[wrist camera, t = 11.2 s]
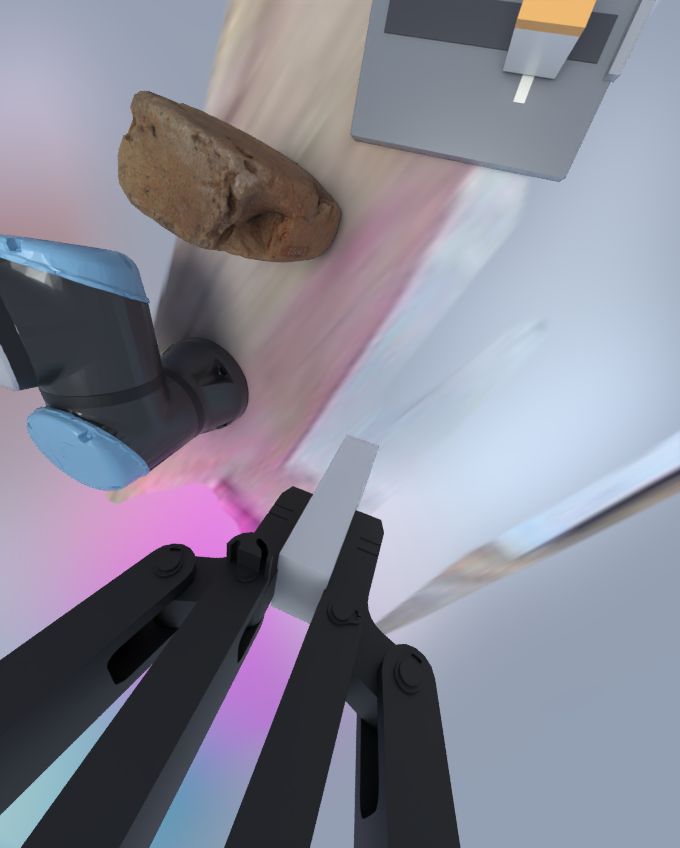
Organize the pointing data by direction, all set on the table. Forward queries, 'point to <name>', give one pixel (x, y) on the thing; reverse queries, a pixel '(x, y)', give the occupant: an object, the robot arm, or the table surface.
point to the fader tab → (546, 35)
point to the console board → (484, 83)
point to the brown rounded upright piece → (221, 185)
